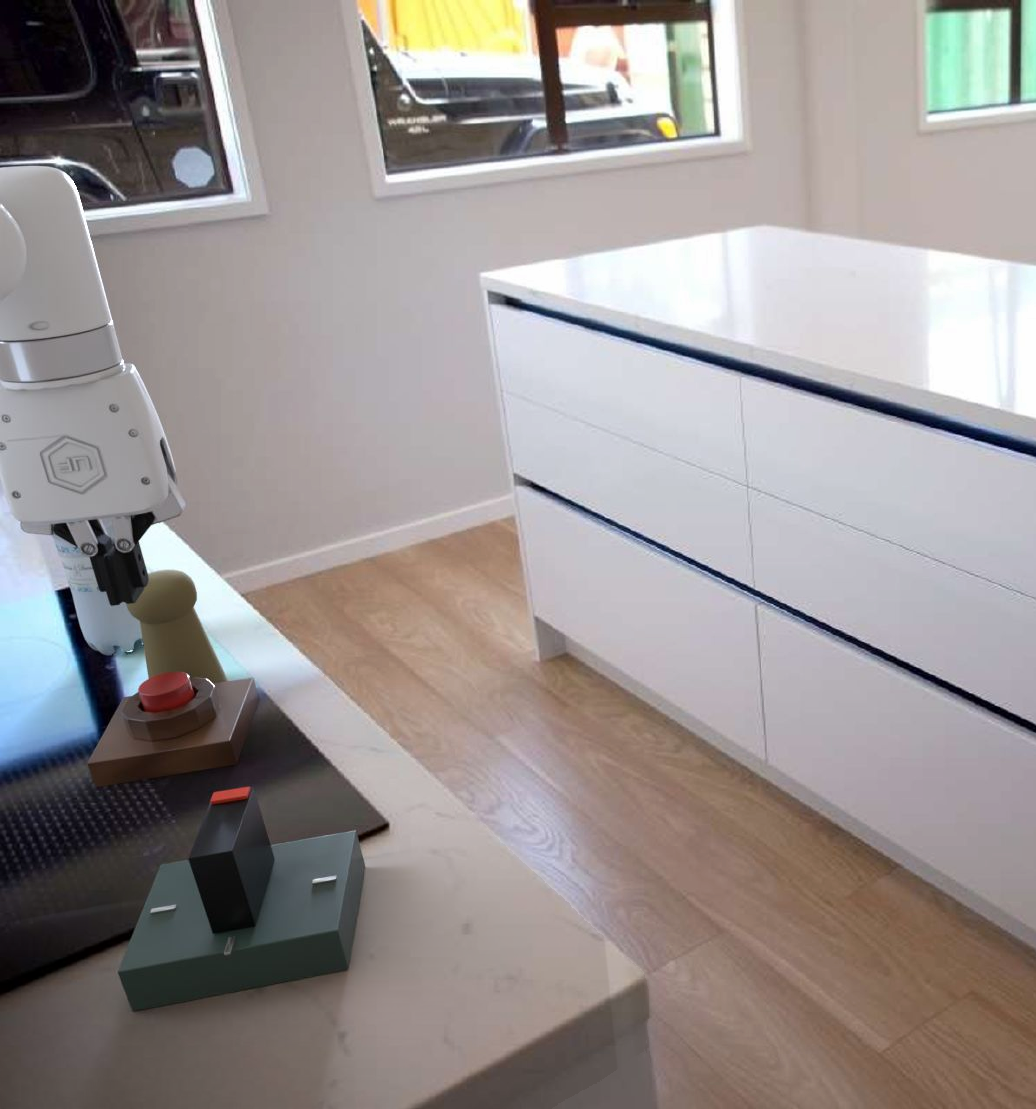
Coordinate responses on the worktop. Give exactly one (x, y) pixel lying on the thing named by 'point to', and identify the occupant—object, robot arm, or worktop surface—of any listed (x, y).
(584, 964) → the worktop surface
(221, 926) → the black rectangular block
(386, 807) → the worktop surface
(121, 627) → the bottle
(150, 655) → the olive pawn
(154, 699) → the release button
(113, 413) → the robot arm
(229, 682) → the brown block
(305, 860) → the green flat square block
